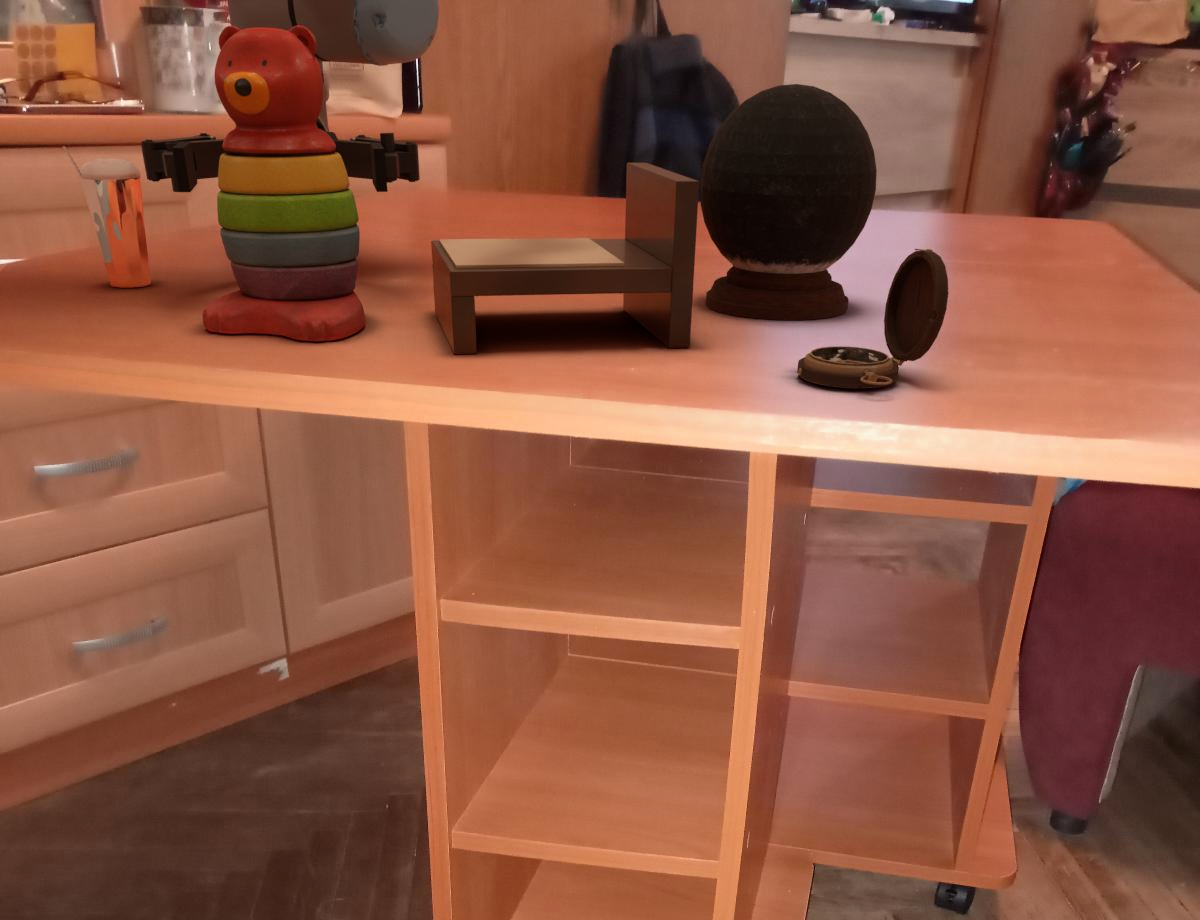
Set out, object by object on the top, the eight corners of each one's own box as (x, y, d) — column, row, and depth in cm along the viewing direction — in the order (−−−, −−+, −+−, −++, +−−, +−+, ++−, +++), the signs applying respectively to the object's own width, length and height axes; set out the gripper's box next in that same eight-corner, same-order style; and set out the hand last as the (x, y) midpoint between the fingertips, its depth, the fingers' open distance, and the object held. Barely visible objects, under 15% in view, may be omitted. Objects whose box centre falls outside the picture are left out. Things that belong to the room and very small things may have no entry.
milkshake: (83, 284, 94) (53, 144, 89) (147, 278, 97) (122, 142, 92) (103, 292, 91) (74, 148, 86) (168, 285, 94) (144, 146, 89)
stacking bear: (191, 331, 79) (140, 21, 70) (268, 306, 87) (232, 25, 78) (332, 344, 77) (298, 23, 67) (398, 317, 85) (377, 27, 75)
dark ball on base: (875, 323, 86) (908, 88, 78) (699, 321, 86) (714, 84, 77) (843, 292, 97) (868, 83, 89) (687, 290, 97) (698, 80, 88)
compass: (780, 370, 73) (792, 243, 69) (895, 365, 74) (913, 241, 70) (830, 401, 66) (847, 264, 62) (954, 396, 68) (979, 261, 64)
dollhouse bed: (453, 354, 75) (445, 181, 69) (435, 313, 86) (426, 162, 81) (690, 347, 78) (699, 180, 72) (641, 309, 89) (646, 162, 84)
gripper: (436, 197, 102) (462, 228, 85) (141, 198, 98) (106, 231, 80) (430, 98, 98) (457, 109, 81) (123, 95, 94) (81, 105, 76)
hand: (282, 170), depth 81 cm, fingers open, 13 cm apart
